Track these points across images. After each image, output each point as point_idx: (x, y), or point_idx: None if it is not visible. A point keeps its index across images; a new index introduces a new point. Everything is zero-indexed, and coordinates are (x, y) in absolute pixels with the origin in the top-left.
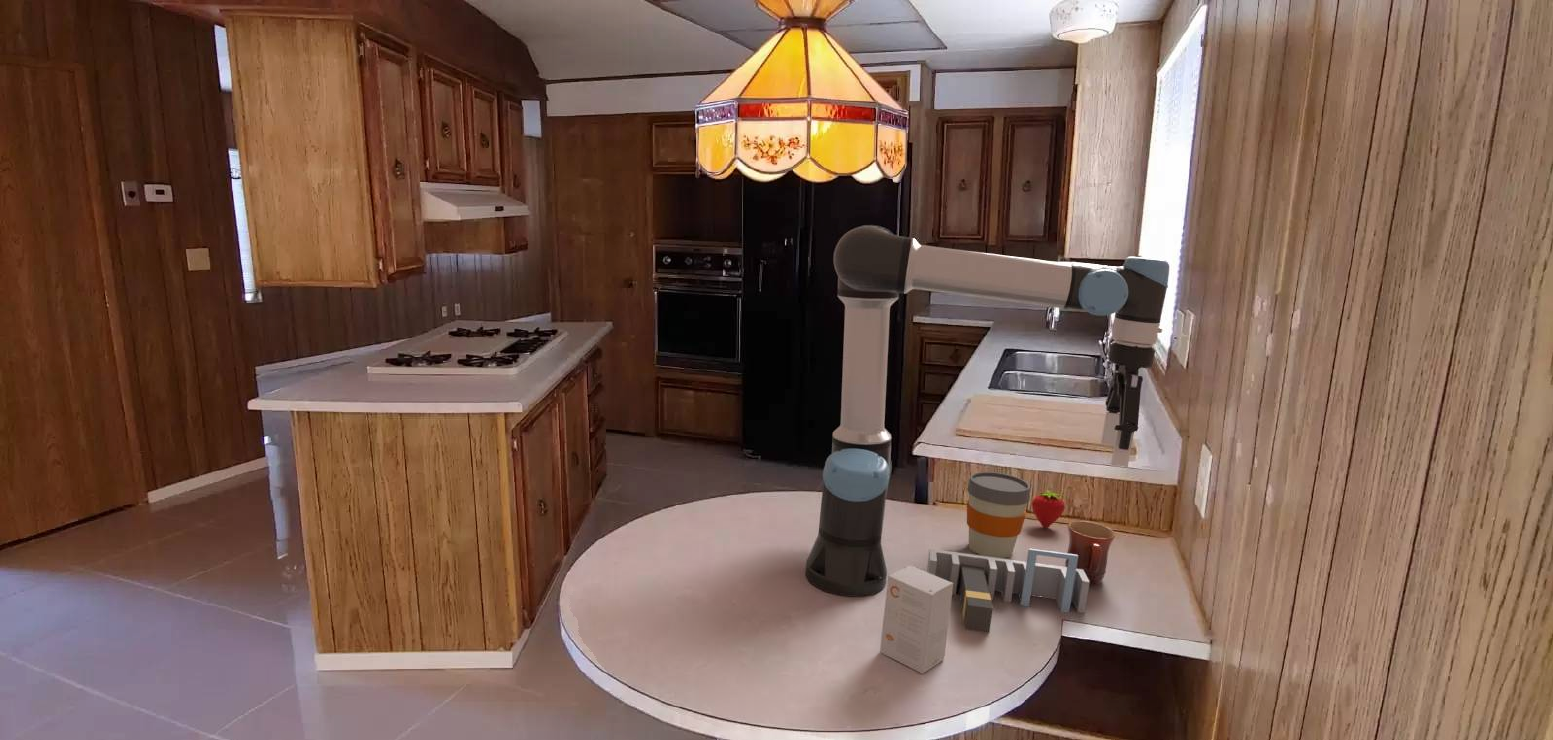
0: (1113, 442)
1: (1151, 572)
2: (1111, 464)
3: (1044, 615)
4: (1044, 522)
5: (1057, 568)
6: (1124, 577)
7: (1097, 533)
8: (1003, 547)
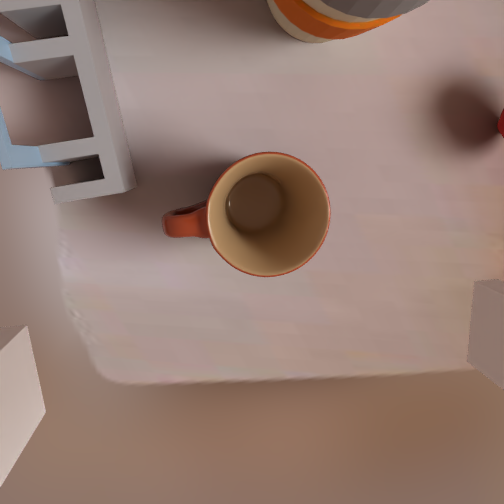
0: (487, 357)
1: (344, 328)
2: (2, 327)
3: (18, 114)
4: (500, 119)
5: (92, 128)
6: (296, 279)
7: (305, 233)
8: (274, 5)
